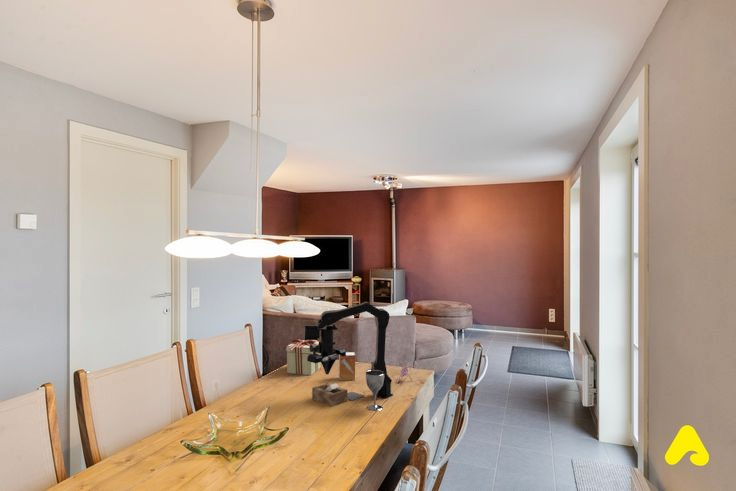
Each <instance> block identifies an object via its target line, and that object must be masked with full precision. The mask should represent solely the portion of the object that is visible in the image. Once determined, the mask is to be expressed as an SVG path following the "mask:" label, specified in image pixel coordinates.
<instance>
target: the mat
mask: <svg viewBox="0 0 736 491" xmlns="http://www.w3.org/2000/svg"><path fill="white" fill-rule="evenodd" d="M364 397H365V395H364V394H361V393H357V392H355V391H350V392H347V401H351V402H353V401H356V400H359V399H361V398H364Z"/></svg>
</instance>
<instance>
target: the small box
mask: <svg viewBox="0 0 736 491" xmlns="http://www.w3.org/2000/svg"><path fill="white" fill-rule="evenodd" d="M338 356H339V357H338V379H339V381H355V380H356V353H355V351H353V352H349V351H346V356H340V354H338Z"/></svg>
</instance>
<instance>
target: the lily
mask: <svg viewBox="0 0 736 491" xmlns="http://www.w3.org/2000/svg"><path fill="white" fill-rule="evenodd" d="M410 365H411V363H410V362H408V363H407V365H406V366H402V367H401V369H400V375H398V377H397V381H396V383H398V382H399V381H400V379H401V378H402V377H407V376H408V377H409V378H410V380H411V381H413V379H412V377H411V376H410V375H409V372H408V368H409V366H410Z"/></svg>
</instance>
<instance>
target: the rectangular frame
mask: <svg viewBox="0 0 736 491" xmlns="http://www.w3.org/2000/svg"><path fill="white" fill-rule="evenodd" d="M330 385H332V384H331V383H324V384H320V385H318V386H314V387H312V388H311V390H312V391H311V392H312V393H311V399H312V400H314V401H317V402H318V403H322V404H325V405H327V406H329V407H335V406H339V405H340V404H341V405H342V404H344V403H346V402H348V399H347V393H348V389H346V388H343V387H340V386H338V388H337V389H336V390H335V391H334V392H329V391H326V390H325V389H326V388H327V387H329V386H330Z"/></svg>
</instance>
